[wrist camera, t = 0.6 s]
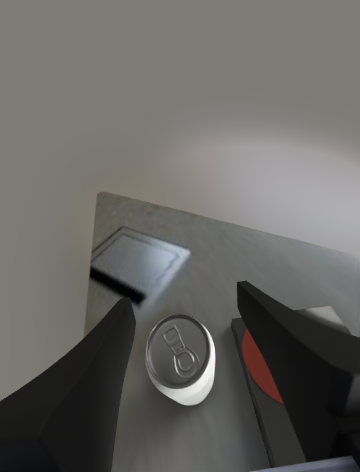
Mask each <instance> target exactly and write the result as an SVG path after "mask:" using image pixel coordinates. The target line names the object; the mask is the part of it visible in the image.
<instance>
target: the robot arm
mask: <svg viewBox="0 0 360 472" xmlns="http://www.w3.org/2000/svg"><path fill="white" fill-rule="evenodd" d="M237 302H238V309H239V312H240V314H241V317H242V319H243V322H244V323H245V325H246V327H247V329H248V331H249V333H250V334H251V336H252V338H253V340H254V342H255V344H256V345H257V347H258V349H259V351H260V353H261V354H262V356H263V358H264V360H265V362H266V364H267V367H268V369H269V371H270V373H271V376H272V378H273V380H274V382H275V385H276V387H277V389H278V392H279V394H280V396H281V399H282V401H283V403H284V406H285V408H286V411H287V413H288V416H289V418H290V421H291V423H292V426H293V428H294V431H295V433H296V436H297V438H298V441H299V444H300V446H301V449H302V451H303V454H304V457H305V459H306V462H307V463H301V464H295V465H289V466H282V467H276V468H270V469H263V470H257V471H251V472H360V338H359V337H356V336H353V335H350V334H347V333H344V332H342V331H339V330H336V329H334V328H331V327H329V326H326V325H324V324H321V323H319V322H317V321H314V320H312V319H310V318H308V317H306V316H304V315H302V314H300V313H298V312H296V311H294V310H292V309H290V308H288V307H286V306H285V305H283V304H281V303H279V302H278V301H276V300H275V299H273V298H271V297H270V296H268V295H267V294H265V293H264V292H262V291H261V290H259V289H258V288H256V287H255V286H253V285H252V284H250V283H249V282H247V281H241V282H237ZM135 326H136V320H135V316H134V312H133V308H132V305H131V301H130V297H129V298H122V299H120V300H119V301H118V302H117V303H116V304H115V305H114V307H113V308H112V309H111V310H110V311H109V312H108V313H107V315H106V316H105V317H104V318H103V319H102V320H101V321H100V322H99V323H98V324H97V325H96V326H95V328H94V329H93V330H92V331H91V332H90V333H89V334H88V335H87V336H86V337H85V338H84V339H83V340H82V341H81V342H79V343H78V344H77V345H76V346H75V347H74V348H73V349H72V350H70V351H69V352H68V353H67V354H66V355H65V356H63V357H62V358H61V359H59V360H58V361H57V362H56V363H55V364H53V365H52V366H51V367H49V368H48V369H47V370H46V371H44V372H43V373H42V374H40V375H39V376H38V377H36V378H35V379H33V380H32V381H30V382H29V383H27V384H26V385H24V386H23V387H21V388H20V389H19V390H17V391H15V392H14V393H12V394H11V395H9V396H8V397H6V398H4V399H3V400H1V401H0V472H111V468H112V458H113V450H114V442H115V434H116V426H117V419H118V412H119V405H120V399H121V393H122V386H123V381H124V377H125V372H126V368H127V364H128V360H129V356H130V352H131V348H132V344H133V340H134V334H135Z"/></svg>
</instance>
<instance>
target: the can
mask: <svg viewBox="0 0 360 472" xmlns="http://www.w3.org/2000/svg"><path fill="white" fill-rule="evenodd" d="M145 354H146V356H145V359H146V368H147V371H148V374H149V377H150V379H151V381H152V382H153V384H154V385H155V386H156V388H157V389H158V390H159V391H161V392H162V393H163V394H165V395H166V396H168V397H169V398H171V399H173V400H175V401H177V402H178V403H181V404H183V405H196V404H199V403H200V402H202V401H203V400H204V399H205V398H206V397H207V395H208V394H209V392H210V390H211V388H212V385H213V380H214V371H215V348H214V343H213V340H212V338H211V335H210V334H209V332H208V330H207V329H206V328H205V326H204V325H203V324H202V323H200V322H199V321H198V320H197V319H196V318H194V317H192V316H190V315H188V314H183V313H175V314H171V315H168V316H166V317H164V318H163V319H161V320H160V321H159V322H158V323H157V324H156V325H155V326H154V327H153V329H152V330H151V332H150V334H149V336H148V339H147V343H146V351H145Z"/></svg>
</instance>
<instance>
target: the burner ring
mask: <svg viewBox="0 0 360 472" xmlns="http://www.w3.org/2000/svg"><path fill="white" fill-rule="evenodd" d="M242 352H243V358H244V362H245V364H246V367H247V369H248V371H249V373H250V375H251V377H252V378H253V380H254V381H255V382H256V384H257V385H258V386H259V387H260V388H261V389H262V390H263V391H264V392H265V393H266V394H267V395H268V396H270V397H271V398H272V399H274V400H276V401H277V402H279V403H282V404H284V403H283V401H282V399H281V396H280V394H279V392H278V389H277V387H276V385H275V382H274V380H273V378H272V376H271V373H270V371H269V369H268V367H267V364H266V362H265V360H264V358H263V356H262V354H261V353H260V351H259V349H258V347H257V345H256V344H255V342H254V340H253V338H252V336H251V334H250V333H249V331H248V329H247V330H246V332H245V334H244V337H243V342H242Z"/></svg>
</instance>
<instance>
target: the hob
mask: <svg viewBox="0 0 360 472" xmlns="http://www.w3.org/2000/svg"><path fill="white" fill-rule="evenodd" d="M294 311H296V312H298V313H300V314H302V315H304V316H306V317H308V318H310V319H312V320H314V321H317V322H319V323H321V324H324V325H326V326H329V327H331V328H334V329H336V330H339V331H342V332H344V333H347V334H350V335H352V334H351V333H350V332H349V330H348V329H347V328H346V326H345V325H344V323H343V322H342V321H341V319H340V318H339V317H338V315H337V314H336V312H335V311H334V310H333V308H332V307H331V306H323V307H316V308H308V309H301V310H294ZM231 329H232V332H233V336H234V339H235V343H236V346H237V350H238V354H239V357H240V361H241V364H242V368H243V371H244V375H245V378H246V382H247V385H248V389H249V393H250V396H251V400H252V403H253V407H254V410H255V414H256V417H257V421H258V425H259V428H260V432H261V435H262V439H263V442H264V446H265V449H266V453H267V457H268V460H269V464H270V467H271V468H276V467H282V466H289V465H295V464H301V463H307V462H306V459H305V457H304V454H303V451H302V449H301V446H300V444H299V441H298V438H297V436H296V433H295V431H294V428H293V426H292V423H291V421H290V418H289V416H288V413H287V411H286V408H285V406H284V404H282V403H279V402H277V401H276V400H274V399H272V398H271V397H270V396H268V395H267V394H266V393H265V392H264V391H263V390H262V389H261V388H260V387H259V386H258V385H257V384H256V382H255V381H254V380H253V378H252V377H251V375H250V373H249V371H248V369H247V367H246V364H245V362H244V358H243V352H242V342H243V337H244V334H245V332H246V330H247V327H246V325H245V323H244V322H243V319H242V318H236V319H232V322H231Z"/></svg>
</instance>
